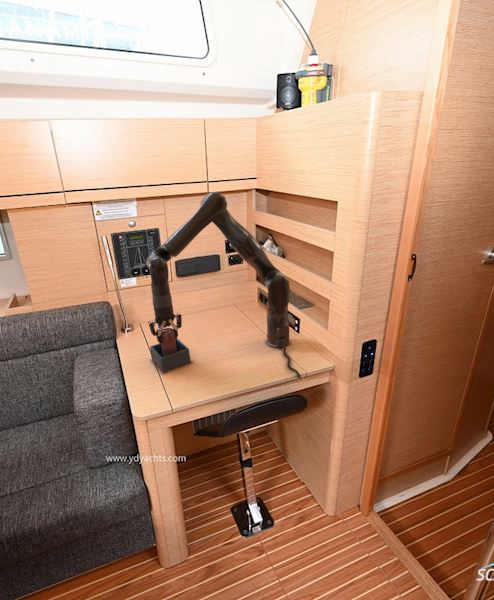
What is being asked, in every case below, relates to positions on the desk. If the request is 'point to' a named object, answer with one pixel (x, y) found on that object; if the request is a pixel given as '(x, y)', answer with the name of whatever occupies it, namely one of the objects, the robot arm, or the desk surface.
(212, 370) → the desk surface
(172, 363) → the bin
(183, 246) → the robot arm
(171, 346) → the can
